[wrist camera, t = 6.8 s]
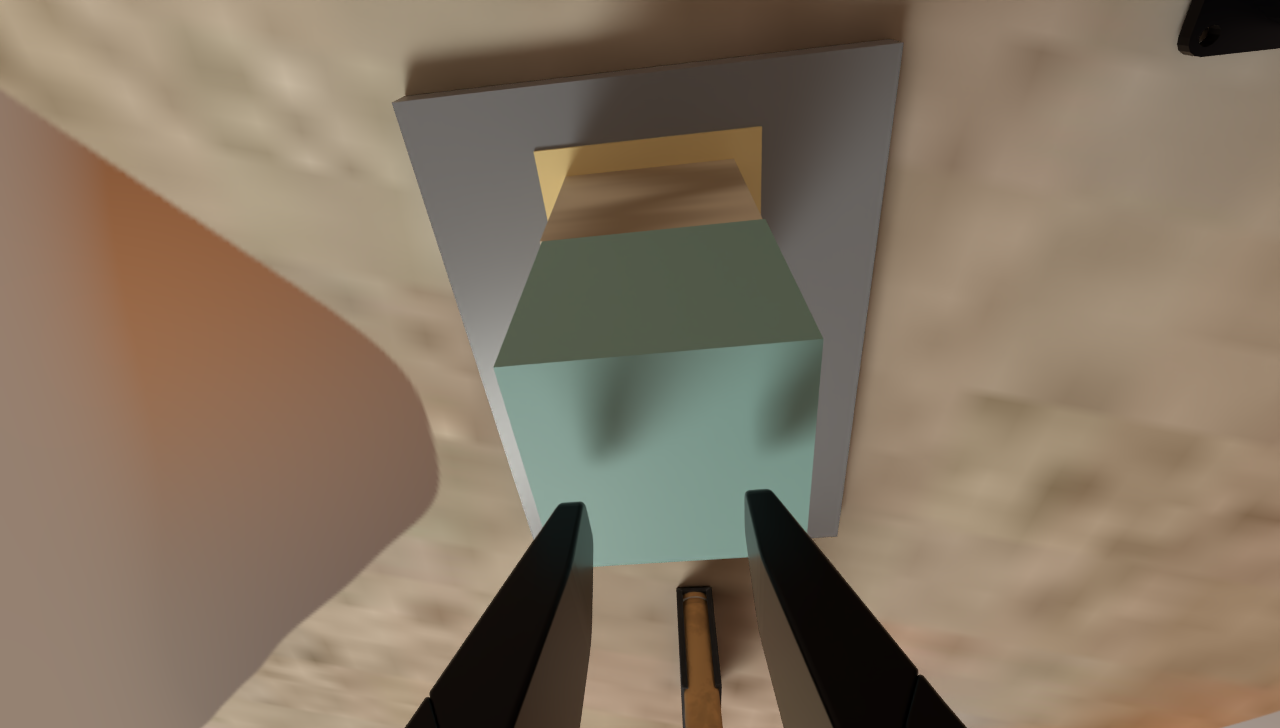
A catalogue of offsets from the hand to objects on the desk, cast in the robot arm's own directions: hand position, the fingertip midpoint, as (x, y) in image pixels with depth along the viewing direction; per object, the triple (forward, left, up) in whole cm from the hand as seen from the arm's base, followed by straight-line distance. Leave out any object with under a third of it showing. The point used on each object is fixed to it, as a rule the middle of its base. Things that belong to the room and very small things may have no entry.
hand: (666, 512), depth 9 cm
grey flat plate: (0, +5, -12) cm, 13 cm away
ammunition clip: (0, +25, -12) cm, 28 cm away
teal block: (0, 0, -6) cm, 6 cm away
